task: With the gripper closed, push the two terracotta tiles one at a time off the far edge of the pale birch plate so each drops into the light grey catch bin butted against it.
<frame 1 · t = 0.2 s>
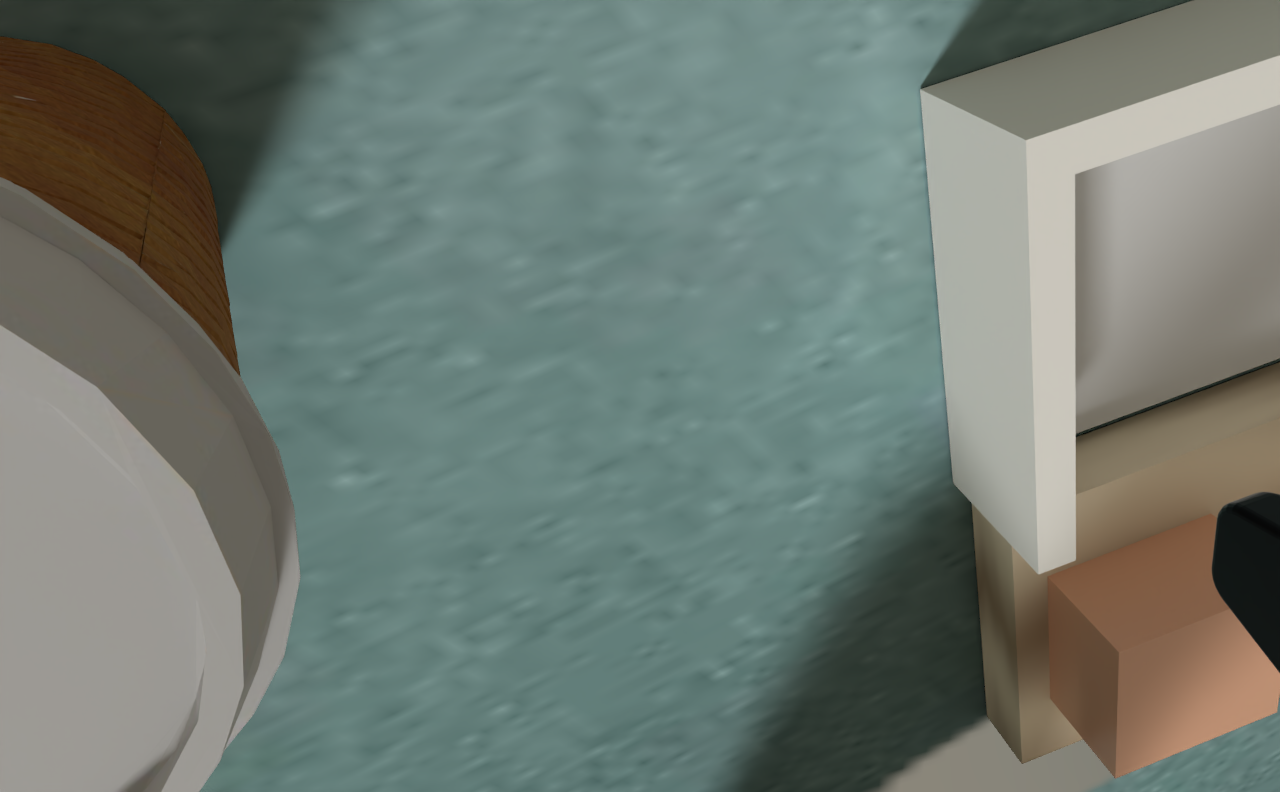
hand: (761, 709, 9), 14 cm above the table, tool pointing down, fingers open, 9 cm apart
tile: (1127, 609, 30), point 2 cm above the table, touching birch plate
catch bin: (1228, 207, 26), on the table
disposable coffee cup: (34, 210, 19), on the table
birch plate: (1201, 521, 32), on the table
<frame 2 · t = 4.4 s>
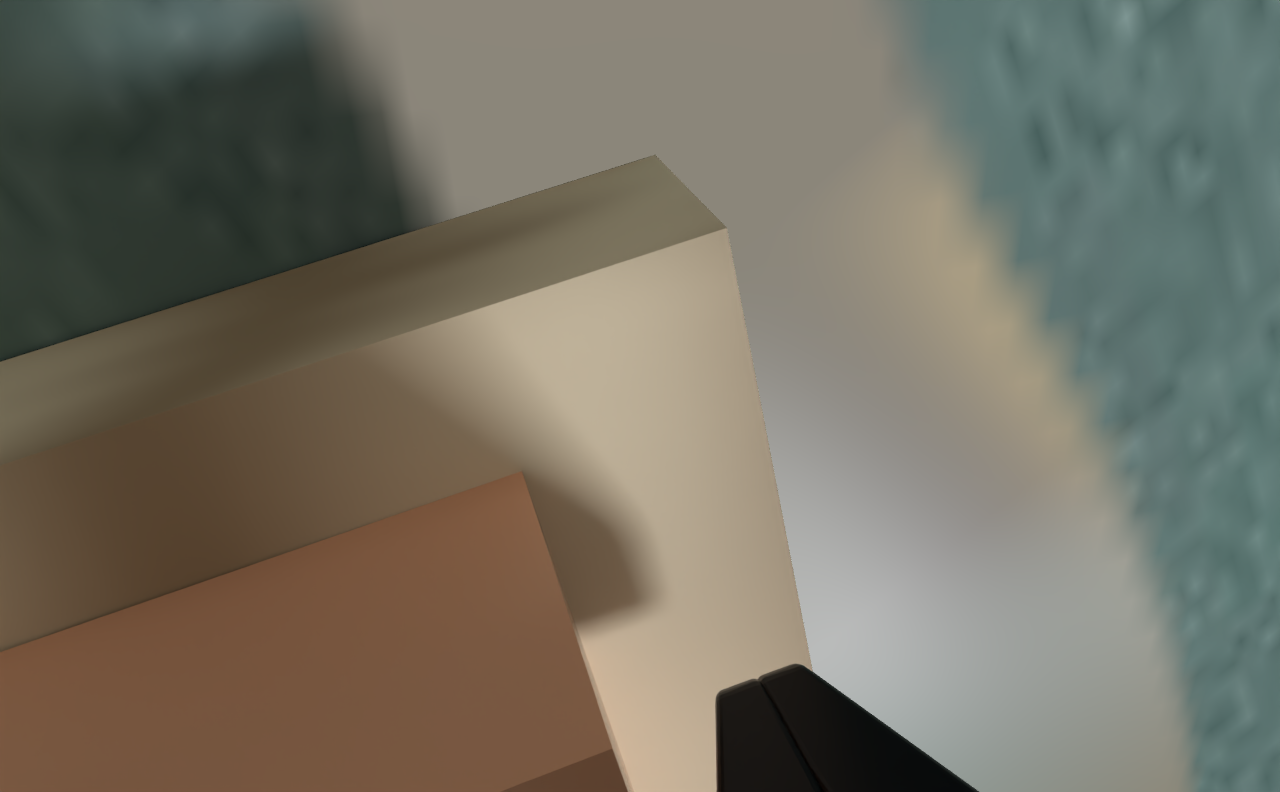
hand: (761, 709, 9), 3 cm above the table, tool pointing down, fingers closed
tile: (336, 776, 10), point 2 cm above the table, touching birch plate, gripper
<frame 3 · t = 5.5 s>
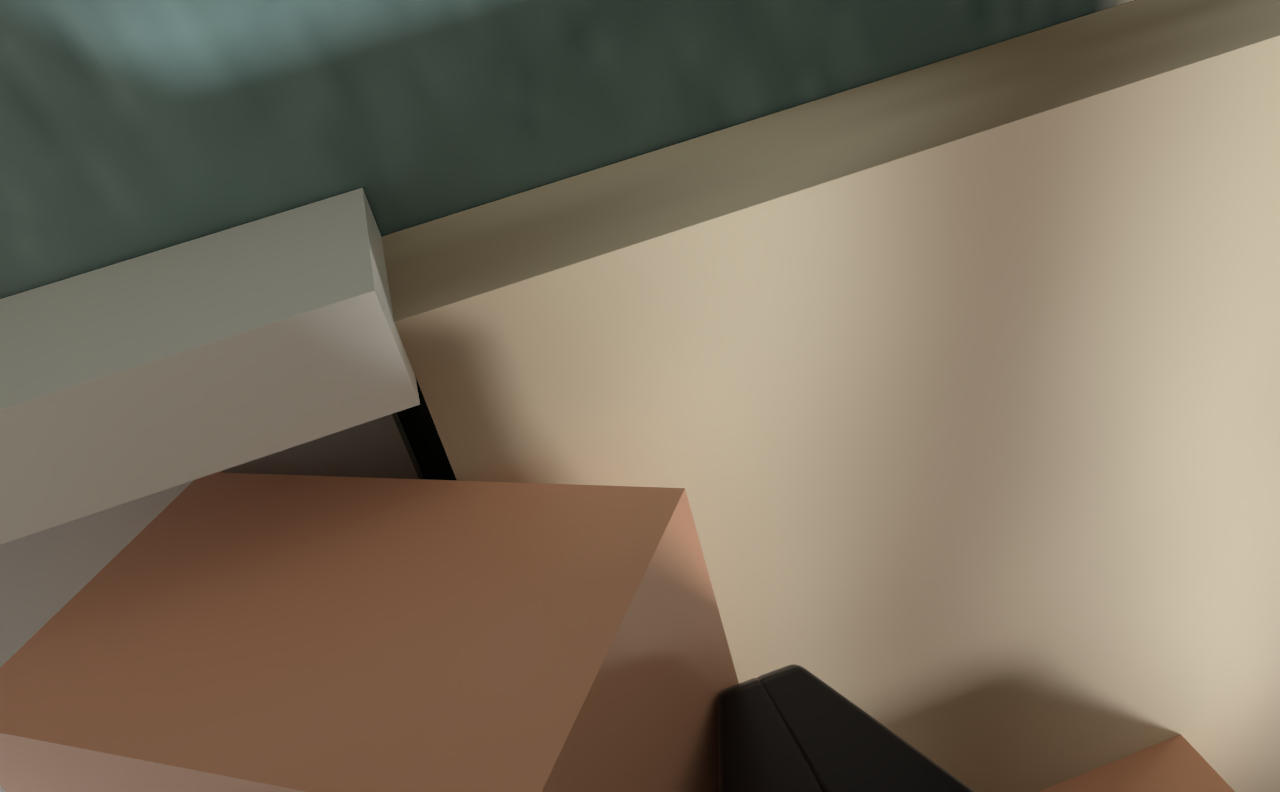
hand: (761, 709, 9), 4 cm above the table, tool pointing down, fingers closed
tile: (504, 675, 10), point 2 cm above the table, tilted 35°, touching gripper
birch plate: (923, 619, 14), on the table
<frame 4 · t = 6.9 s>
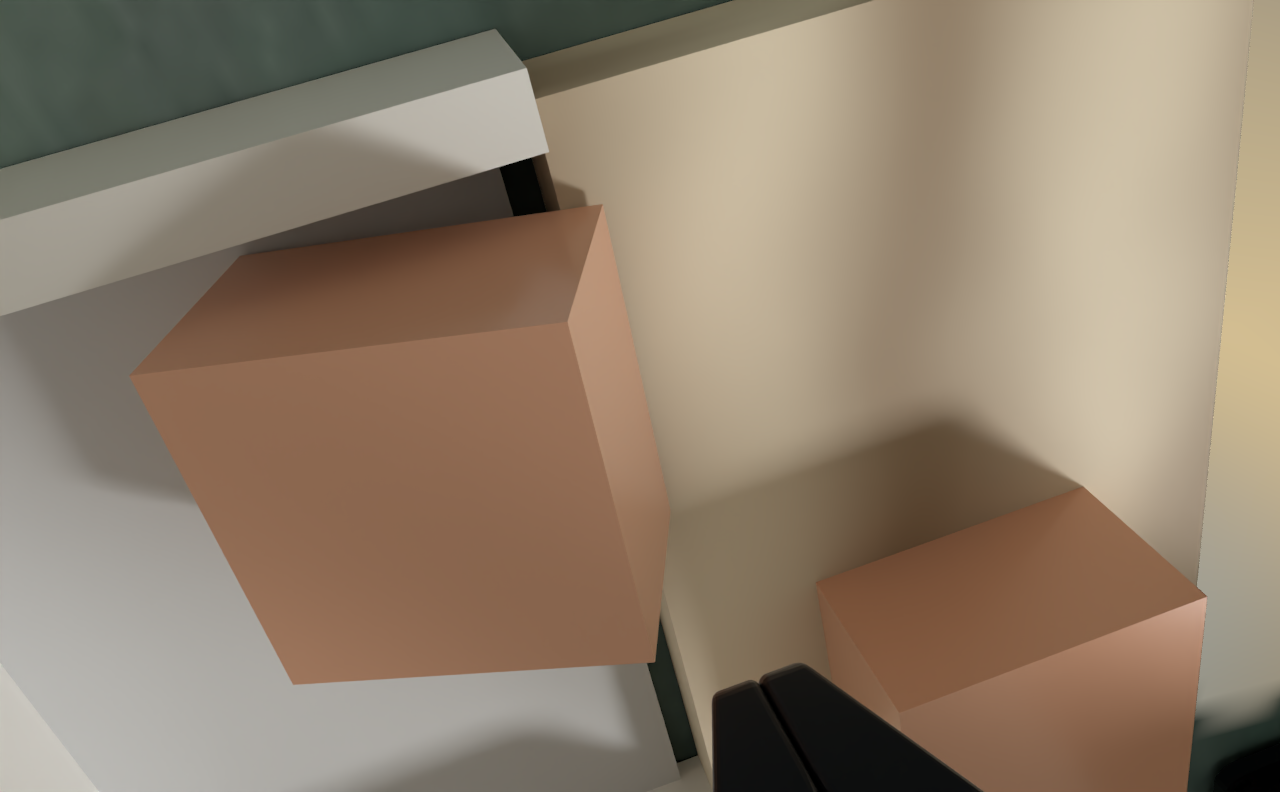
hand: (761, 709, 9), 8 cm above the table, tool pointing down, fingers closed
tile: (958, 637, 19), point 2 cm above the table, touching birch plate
catch bin: (314, 601, 17), on the table
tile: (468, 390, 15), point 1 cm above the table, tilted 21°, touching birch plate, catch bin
birch plate: (890, 404, 19), on the table
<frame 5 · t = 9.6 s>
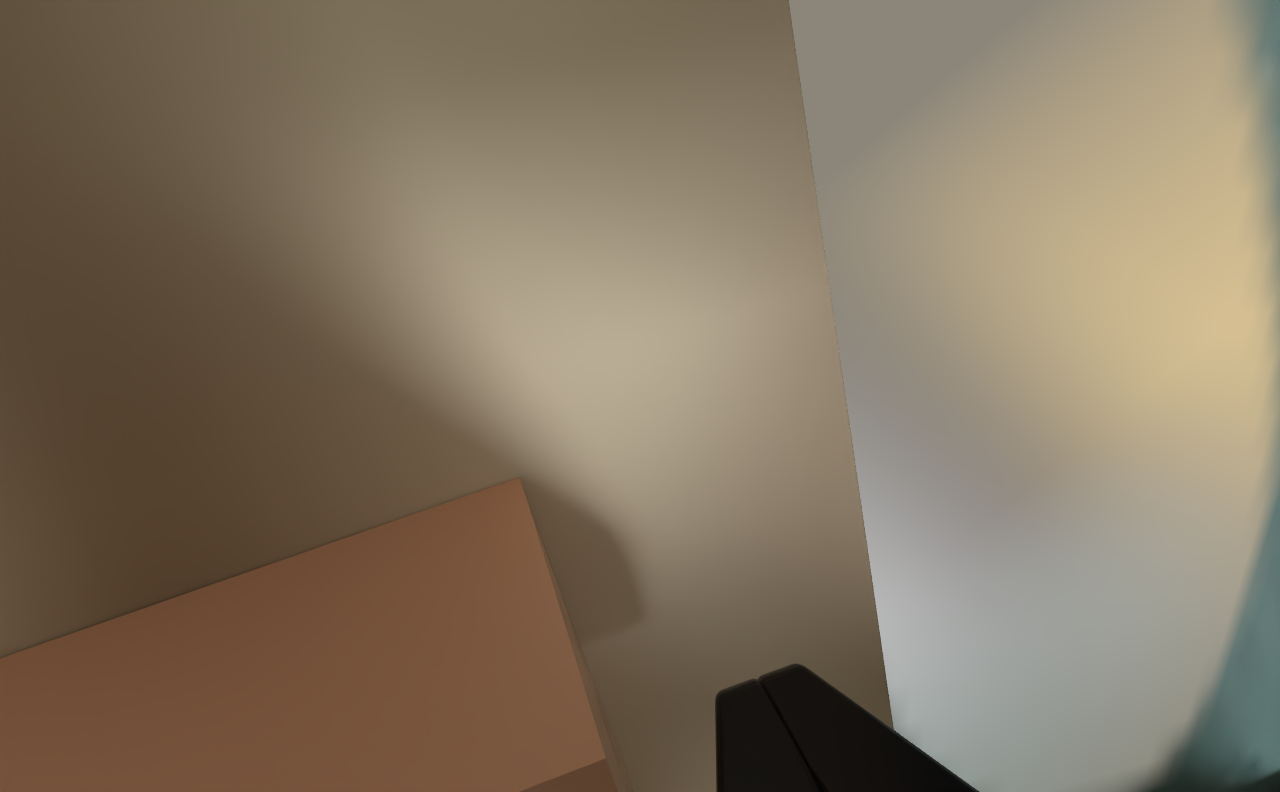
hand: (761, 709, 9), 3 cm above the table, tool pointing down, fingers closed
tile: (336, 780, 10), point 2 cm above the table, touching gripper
birch plate: (201, 301, 9), on the table
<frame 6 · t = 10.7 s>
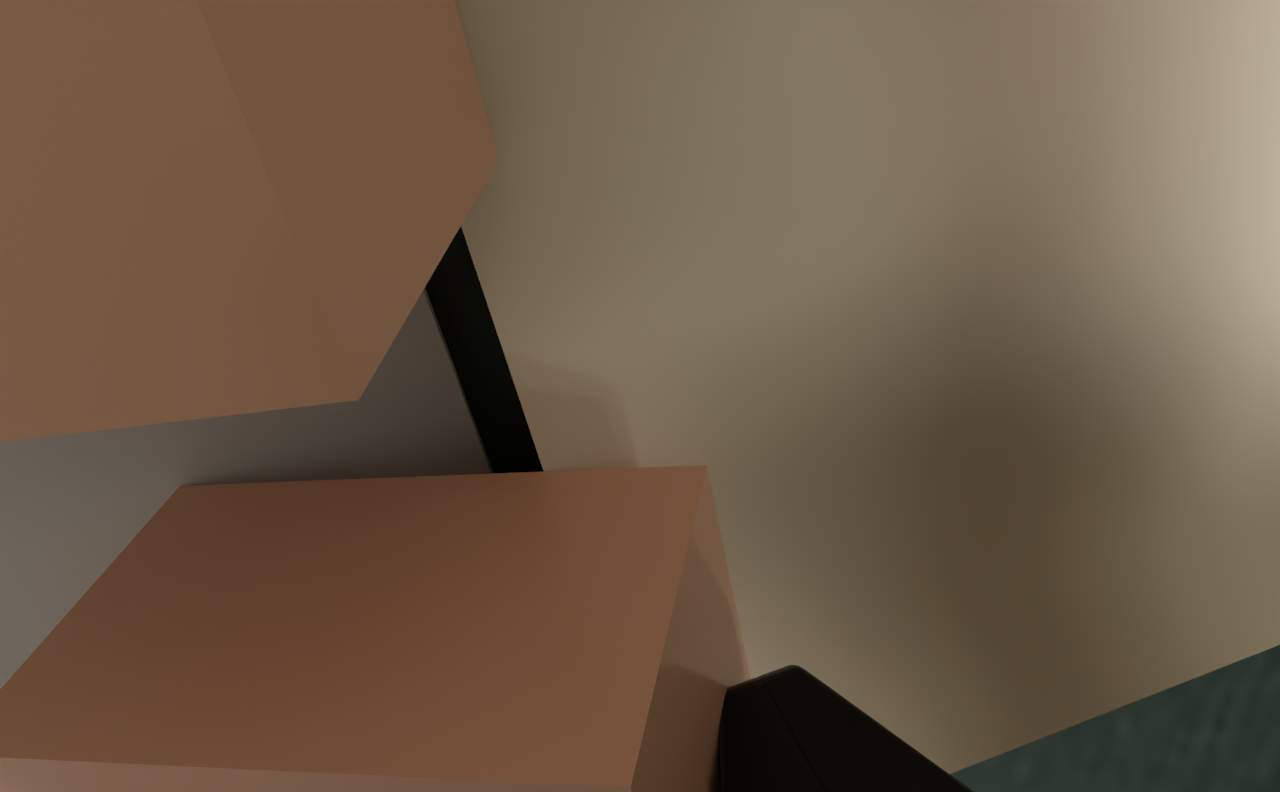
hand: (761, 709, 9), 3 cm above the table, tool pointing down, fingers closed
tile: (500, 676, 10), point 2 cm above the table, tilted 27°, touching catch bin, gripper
birch plate: (954, 62, 10), on the table
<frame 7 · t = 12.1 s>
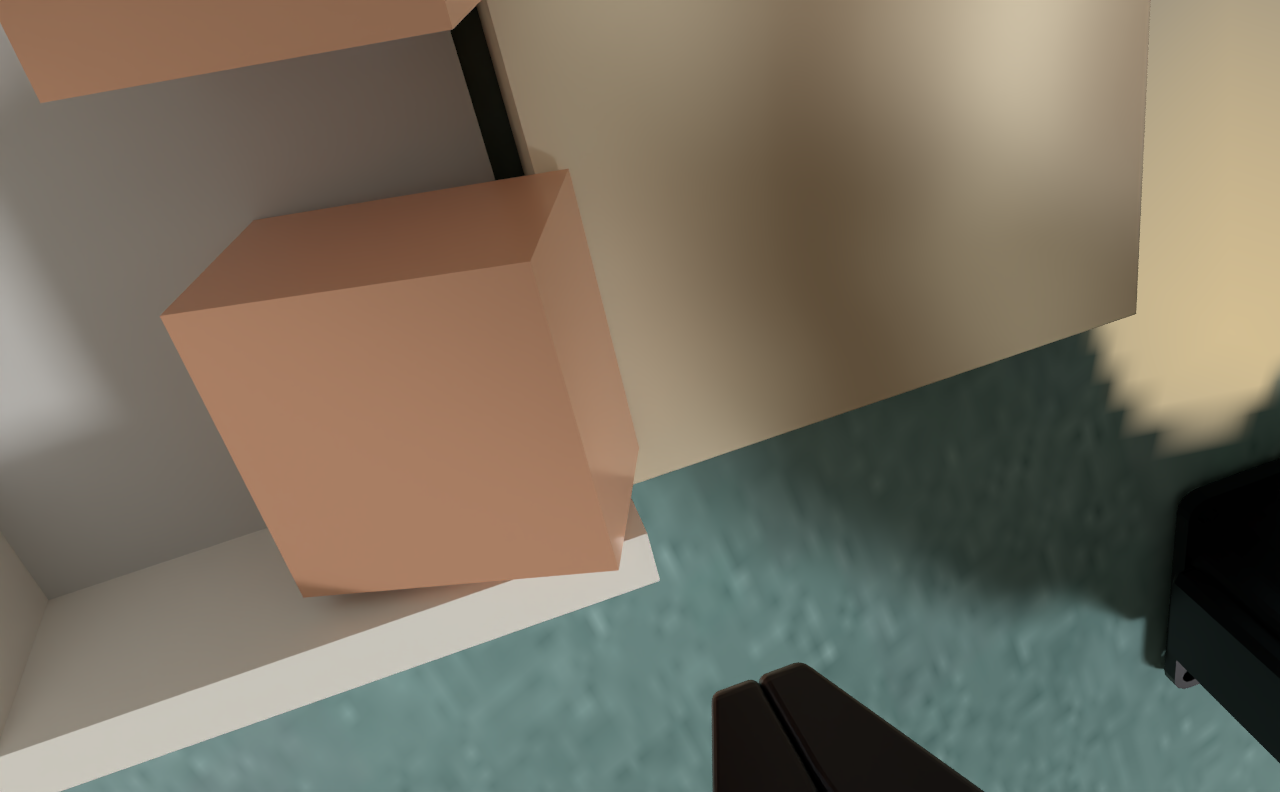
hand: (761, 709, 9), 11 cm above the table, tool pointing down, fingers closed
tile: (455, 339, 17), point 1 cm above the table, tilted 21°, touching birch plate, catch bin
catch bin: (122, 134, 15), on the table
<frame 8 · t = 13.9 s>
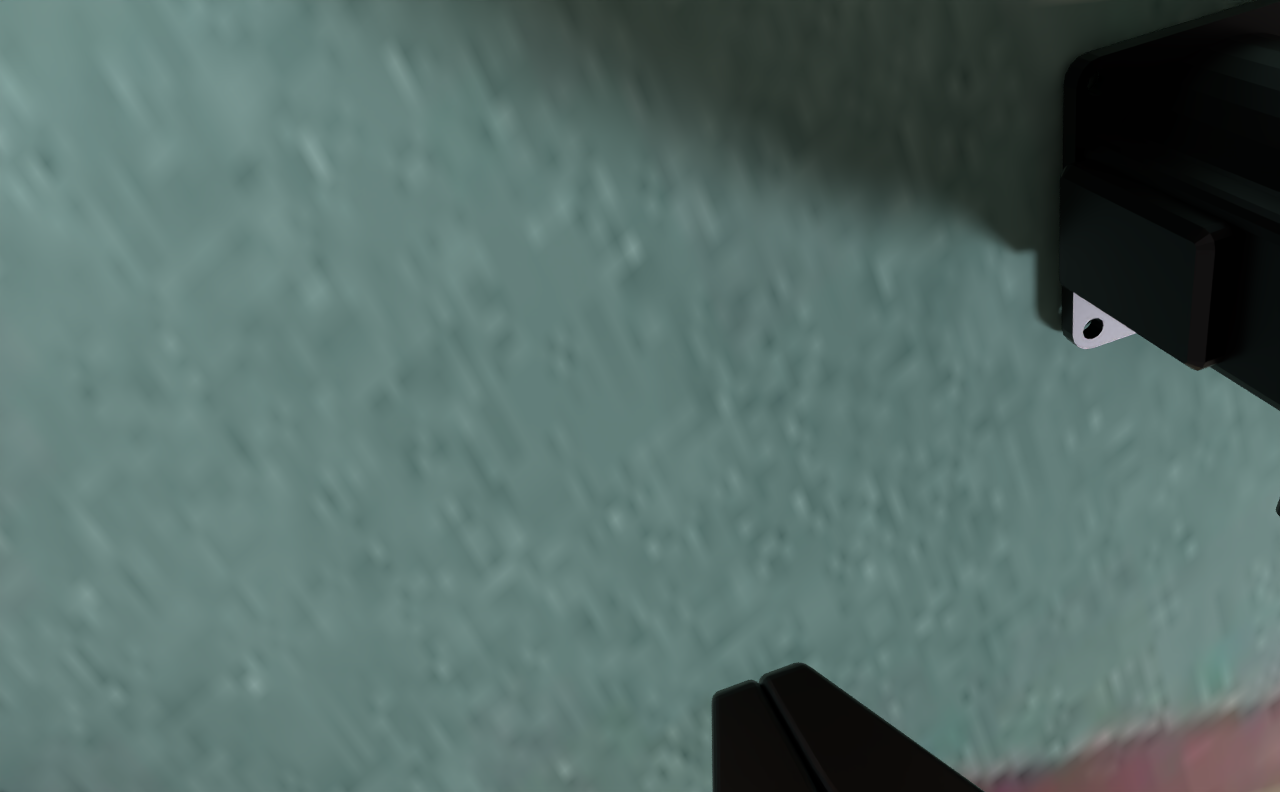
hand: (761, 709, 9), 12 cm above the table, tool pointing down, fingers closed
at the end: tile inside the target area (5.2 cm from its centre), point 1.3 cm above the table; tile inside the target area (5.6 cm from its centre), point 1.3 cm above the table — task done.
